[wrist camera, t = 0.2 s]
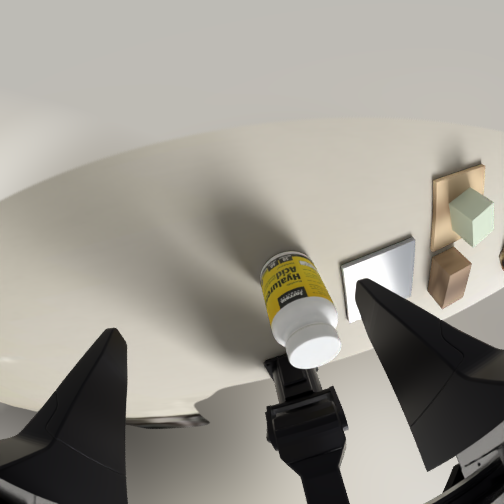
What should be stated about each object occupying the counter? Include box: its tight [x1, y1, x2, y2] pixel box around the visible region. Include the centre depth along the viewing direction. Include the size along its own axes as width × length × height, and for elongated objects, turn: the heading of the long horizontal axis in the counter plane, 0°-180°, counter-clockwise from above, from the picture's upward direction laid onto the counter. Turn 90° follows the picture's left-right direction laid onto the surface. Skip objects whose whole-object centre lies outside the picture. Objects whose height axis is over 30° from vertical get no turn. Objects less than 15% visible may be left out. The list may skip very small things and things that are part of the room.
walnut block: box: [427, 247, 472, 309], centre depth 29 cm, size 6×4×4 cm, turn 18°
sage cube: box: [449, 187, 494, 248], centre depth 23 cm, size 4×4×4 cm
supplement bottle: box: [260, 251, 341, 369], centre depth 23 cm, size 5×5×10 cm
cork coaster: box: [430, 164, 485, 252], centre depth 25 cm, size 9×9×1 cm
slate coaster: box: [341, 237, 415, 323], centre depth 29 cm, size 9×9×1 cm
